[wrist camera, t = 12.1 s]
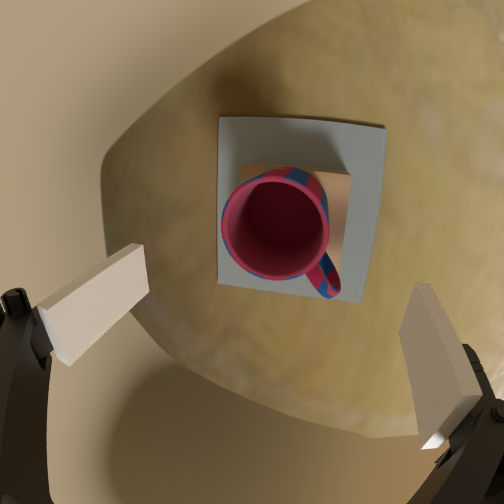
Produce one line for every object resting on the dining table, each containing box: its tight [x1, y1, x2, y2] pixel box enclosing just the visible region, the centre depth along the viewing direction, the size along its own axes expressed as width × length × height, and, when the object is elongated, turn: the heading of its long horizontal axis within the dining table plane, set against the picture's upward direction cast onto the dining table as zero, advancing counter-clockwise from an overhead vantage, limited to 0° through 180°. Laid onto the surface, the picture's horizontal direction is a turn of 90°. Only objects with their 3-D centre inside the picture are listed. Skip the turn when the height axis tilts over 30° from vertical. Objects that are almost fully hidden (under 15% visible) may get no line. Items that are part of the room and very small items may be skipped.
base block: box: [240, 163, 351, 272], centre depth 26 cm, size 9×9×4 cm
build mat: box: [217, 117, 387, 303], centre depth 28 cm, size 18×16×1 cm
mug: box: [221, 167, 341, 299], centre depth 21 cm, size 7×10×7 cm
